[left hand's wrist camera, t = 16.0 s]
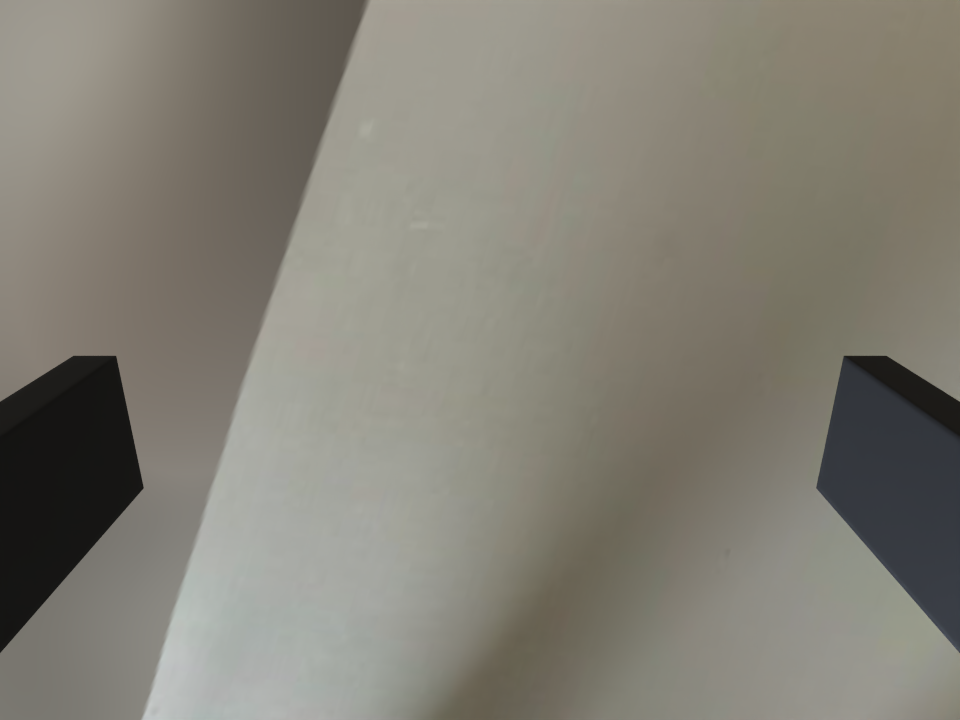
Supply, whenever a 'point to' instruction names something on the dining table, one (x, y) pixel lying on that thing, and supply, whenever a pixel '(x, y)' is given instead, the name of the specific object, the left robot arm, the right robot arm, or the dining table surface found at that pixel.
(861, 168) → the dining table surface
